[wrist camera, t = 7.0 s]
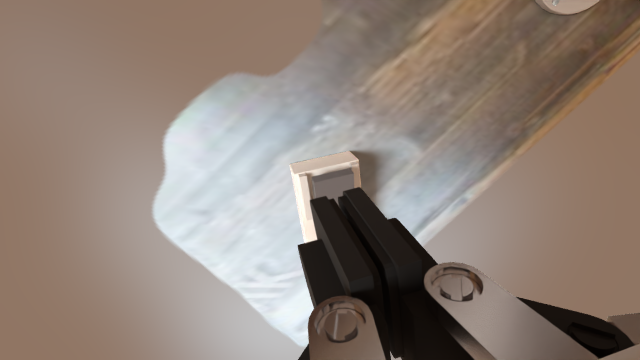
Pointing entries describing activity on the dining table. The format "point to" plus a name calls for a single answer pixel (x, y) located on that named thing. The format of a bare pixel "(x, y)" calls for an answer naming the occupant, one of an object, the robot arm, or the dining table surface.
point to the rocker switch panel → (305, 189)
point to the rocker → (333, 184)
